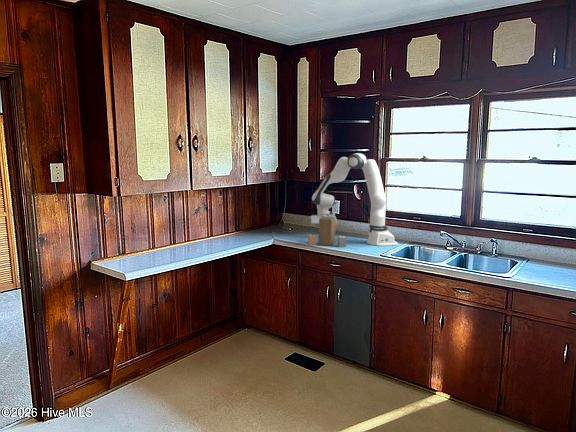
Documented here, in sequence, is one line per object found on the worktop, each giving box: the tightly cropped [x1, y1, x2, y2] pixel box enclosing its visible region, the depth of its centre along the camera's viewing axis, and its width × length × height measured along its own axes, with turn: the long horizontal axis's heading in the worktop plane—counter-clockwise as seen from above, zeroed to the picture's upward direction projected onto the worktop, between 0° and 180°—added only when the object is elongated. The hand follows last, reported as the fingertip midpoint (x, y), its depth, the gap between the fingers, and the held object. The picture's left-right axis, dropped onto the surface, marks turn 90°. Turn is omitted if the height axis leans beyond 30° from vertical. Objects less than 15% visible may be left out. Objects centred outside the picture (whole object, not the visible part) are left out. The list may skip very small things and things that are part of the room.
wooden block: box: [318, 217, 337, 247], centre depth 313 cm, size 10×10×20 cm
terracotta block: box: [308, 233, 317, 246], centre depth 312 cm, size 5×5×8 cm
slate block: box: [337, 235, 347, 248], centre depth 308 cm, size 5×5×8 cm
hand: (324, 229), depth 325 cm, fingers closed
